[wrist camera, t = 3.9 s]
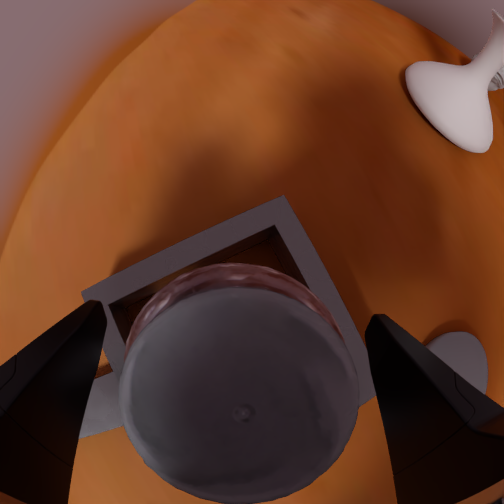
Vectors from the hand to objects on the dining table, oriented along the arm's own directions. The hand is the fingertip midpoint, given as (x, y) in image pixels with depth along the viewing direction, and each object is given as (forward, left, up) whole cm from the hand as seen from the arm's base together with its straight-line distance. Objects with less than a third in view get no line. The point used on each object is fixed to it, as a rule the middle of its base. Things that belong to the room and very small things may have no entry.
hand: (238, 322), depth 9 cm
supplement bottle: (-1, -1, -7) cm, 7 cm away
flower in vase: (+26, +7, -7) cm, 28 cm away
